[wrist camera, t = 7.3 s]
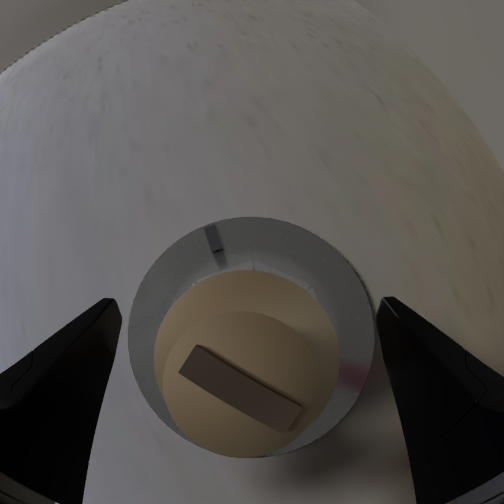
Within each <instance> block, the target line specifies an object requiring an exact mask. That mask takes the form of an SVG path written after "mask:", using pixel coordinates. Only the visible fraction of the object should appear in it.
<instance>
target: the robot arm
mask: <svg viewBox="0 0 504 504" xmlns="http://www.w3.org/2000/svg"><path fill="white" fill-rule="evenodd" d="M376 324H377V329H378V334H379V339H380V344H381V349H382V354H383V359H384V362H385V366H386V369H387V373H388V376H389V379H390V383H391V386H392V390H393V394H394V397H395V401H396V405H397V409H398V413H399V417H400V421H401V425H402V429H403V433H404V438H405V442H406V447H407V451H408V456H409V461H410V467H411V472H412V478H413V484H414V490H415V496H416V503H417V504H445V503H447V502H450V501H452V500H454V499H455V503H456V504H504V377H503V376H502V375H500V374H499V373H497V372H496V371H494V370H493V369H491V368H490V367H488V366H487V365H485V364H484V363H482V362H481V361H480V360H479V359H477V358H476V357H475V356H473V355H472V354H471V353H469V352H468V351H467V350H465V349H464V348H463V347H462V346H460V345H459V344H458V343H456V342H455V341H454V340H452V339H451V338H450V337H448V336H447V335H446V334H444V333H443V332H442V331H440V330H439V329H438V328H436V327H435V326H434V325H432V324H431V323H430V322H428V321H427V320H426V319H424V318H423V317H421V316H420V315H419V314H417V313H416V312H415V311H413V310H412V309H410V308H409V307H408V306H406V305H405V304H403V303H402V302H401V301H399V300H398V299H396V298H395V297H383V298H382V299H381V302H380V305H379V308H378V311H377V314H376ZM121 325H122V316H121V313H120V311H119V308H118V305H117V302H116V300H115V299H113V298H103V299H102V300H100V301H99V302H97V303H96V304H95V305H93V306H92V307H90V308H89V309H88V310H86V311H85V312H83V313H82V314H81V315H79V316H78V317H76V318H75V319H74V320H72V321H71V322H70V323H68V324H67V325H66V326H64V327H63V328H62V329H60V330H59V331H57V332H56V333H55V334H53V335H52V336H51V337H49V338H48V339H47V340H45V341H44V342H43V343H42V344H40V345H39V346H38V347H36V348H35V349H34V351H31V352H30V353H29V354H27V355H26V356H25V357H23V358H22V359H21V360H19V361H18V362H17V363H15V364H14V365H12V366H11V367H10V368H8V369H7V370H5V371H4V372H2V373H1V374H0V504H55V502H57V503H59V504H82V502H83V495H84V488H85V482H86V476H87V470H88V465H89V459H90V454H91V449H92V444H93V439H94V435H95V430H96V426H97V422H98V417H99V413H100V409H101V405H102V402H103V398H104V394H105V390H106V387H107V383H108V380H109V376H110V373H111V369H112V366H113V362H114V359H115V354H116V349H117V344H118V339H119V334H120V329H121Z"/></svg>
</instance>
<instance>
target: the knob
mask: <svg viewBox="0 0 504 504" xmlns="http://www.w3.org/2000/svg"><path fill="white" fill-rule="evenodd" d="M339 367H340V351H339V345H338V340H337V336H336V333H335V330H334V327H333V325H332V323H331V321H330V319H329V317H328V315H327V314H326V312H325V311H324V309H323V308H322V307H321V305H320V304H319V303H318V302H317V301H316V299H315V298H314V297H312V296H311V295H310V294H309V293H308V292H307V291H306V290H304V289H303V288H301V287H300V286H298V285H297V284H296V283H294V282H292V281H290V280H288V279H286V278H283V277H281V276H278V275H275V274H272V273H267V272H263V271H254V270H236V271H230V272H224V273H221V274H218V275H214V276H211V277H209V278H207V279H205V280H202V281H201V282H199V283H197V284H196V285H194V286H192V287H191V288H190V289H188V290H187V291H186V292H185V293H183V294H182V295H181V296H180V297H179V298H178V299H177V300H176V301H175V303H174V304H173V305H172V306H171V308H170V309H169V311H168V312H167V313H166V315H165V317H164V319H163V321H162V323H161V325H160V328H159V331H158V333H157V337H156V341H155V347H154V371H155V376H156V381H157V384H158V387H159V390H160V392H161V394H162V397H163V399H164V401H165V402H166V405H167V408H168V411H169V413H170V415H171V417H172V419H173V420H174V422H175V423H176V425H177V426H178V427H179V429H180V430H181V431H182V432H183V433H184V434H185V435H186V436H187V437H188V438H189V439H191V440H192V441H193V442H195V443H196V444H198V445H199V446H201V447H203V448H205V449H207V450H209V451H211V452H214V453H216V454H219V455H224V456H228V457H237V458H250V457H257V456H262V455H266V454H269V453H272V452H275V451H277V450H279V449H281V448H283V447H285V446H286V445H288V444H289V443H291V442H292V441H293V440H295V439H296V438H297V437H298V436H299V435H300V434H301V433H302V432H303V431H304V430H305V429H306V428H307V427H309V426H310V425H311V424H312V423H313V422H314V421H315V420H316V419H317V418H318V417H319V415H320V414H321V413H322V412H323V410H324V409H325V408H326V406H327V404H328V402H329V401H330V399H331V397H332V394H333V392H334V390H335V387H336V383H337V379H338V375H339Z"/></svg>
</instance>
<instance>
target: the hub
mask: <svg viewBox="0 0 504 504" xmlns="http://www.w3.org/2000/svg"><path fill="white" fill-rule="evenodd" d="M236 270H254V271H263V272H267V273H272V274H275V275H278V276H281V277H283V278H286V279H288V280H290V281H292V282H294V283H296V284H297V285H298V286H300V287H301V288H303V289H304V290H306V291H307V292H308V293H309V294H310V295H311V296H312V297H314V298H315V299H316V301H317V302H318V303H319V304H320V305H321V307H322V308H323V309H324V311H325V312H326V314H327V315H328V317H329V319H330V321H331V323H332V325H333V327H334V330H335V333H336V336H337V340H338V345H339V351H340V367H339V375H338V379H337V383H336V387H335V390H334V392H333V394H332V397H331V399H330V401H329V402H328V404H327V406H326V408H325V409H324V410H323V412H322V413H321V414H320V415H319V417H318V418H317V419H316V420H315V421H314V422H313V423H312V424H311V425H310V426H309V427H307V428H306V429H305V430H304V431H303V432H302V433H301V434H300V435H299V436H298V437H297V438H296V439H295V440H293V441H292V442H291V443H289V444H288V445H286V446H285V447H283V448H281V449H279V450H277V451H275V452H272V453H269V454H266V455H262V456H257V457H250V458H258V457H268V456H275V455H280V454H283V453H287V452H290V451H294V450H296V449H298V448H301V447H303V446H305V445H307V444H310V443H311V442H313V441H315V440H316V439H318V438H320V437H321V436H323V435H324V434H325V433H327V432H328V431H329V430H330V429H332V428H333V427H334V426H335V425H336V424H337V423H338V422H339V421H340V420H341V419H342V418H343V417H344V416H345V415H346V414H347V413H348V411H349V410H350V408H351V407H352V406H353V404H354V403H355V402H356V400H357V398H358V396H359V395H360V393H361V391H362V389H363V387H364V385H365V382H366V380H367V377H368V374H369V371H370V367H371V363H372V359H373V351H374V323H373V317H372V311H371V307H370V304H369V301H368V298H367V295H366V292H365V290H364V288H363V286H362V284H361V282H360V280H359V278H358V277H357V275H356V274H355V272H354V270H353V269H352V267H351V266H350V265H349V264H348V262H347V261H346V260H345V259H344V258H343V257H342V255H341V254H340V253H339V252H337V251H336V250H335V249H334V248H333V247H332V246H331V245H330V244H328V243H327V242H326V241H324V240H323V239H321V238H320V237H318V236H317V235H315V234H313V233H311V232H310V231H308V230H306V229H304V228H302V227H299V226H296V225H294V224H291V223H288V222H285V221H280V220H276V219H272V218H262V217H239V218H232V219H226V220H221V221H218V222H214V223H211V224H208V225H206V226H203V227H201V228H199V229H196V230H194V231H192V232H191V233H189V234H187V235H186V236H184V237H182V238H181V239H179V240H178V241H177V242H175V243H174V244H173V245H171V246H170V247H169V248H168V249H167V250H166V251H165V252H164V253H163V254H162V255H161V256H160V257H159V258H158V259H157V260H156V261H155V263H154V264H153V265H152V267H151V268H150V269H149V271H148V272H147V274H146V275H145V277H144V279H143V281H142V282H141V284H140V286H139V288H138V291H137V293H136V296H135V298H134V301H133V305H132V309H131V313H130V318H129V326H128V349H129V356H130V362H131V366H132V369H133V373H134V376H135V379H136V381H137V383H138V386H139V388H140V390H141V392H142V394H143V396H144V397H145V399H146V401H147V402H148V404H149V405H150V407H151V408H152V409H153V411H154V412H155V413H156V414H157V415H158V417H159V418H160V419H161V420H162V421H163V422H164V423H165V424H166V425H167V426H169V427H170V428H171V429H172V430H173V431H175V432H176V433H177V434H179V435H180V436H181V437H183V438H184V439H186V440H188V441H190V442H191V443H193V444H195V445H197V446H199V445H198V444H196V443H195V442H193V441H192V440H191V439H189V438H188V437H187V436H186V435H185V434H184V433H183V432H182V431H181V430H180V429H179V427H178V426H177V425H176V423H175V422H174V420H173V419H172V417H171V415H170V413H169V411H168V408H167V405H166V402H165V401H164V399H163V397H162V394H161V392H160V390H159V387H158V384H157V381H156V376H155V371H154V347H155V341H156V337H157V333H158V331H159V328H160V325H161V323H162V321H163V319H164V317H165V315H166V313H167V312H168V311H169V309H170V308H171V306H172V305H173V304H174V303H175V301H176V300H177V299H178V298H179V297H180V296H181V295H182V294H183V293H185V292H186V291H187V290H188V289H190V288H191V287H192V286H194V285H196V284H197V283H199V282H201V281H202V280H205V279H207V278H209V277H211V276H214V275H218V274H221V273H224V272H230V271H236ZM199 447H201V446H199ZM202 448H203V447H202ZM204 449H205V448H204Z"/></svg>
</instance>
